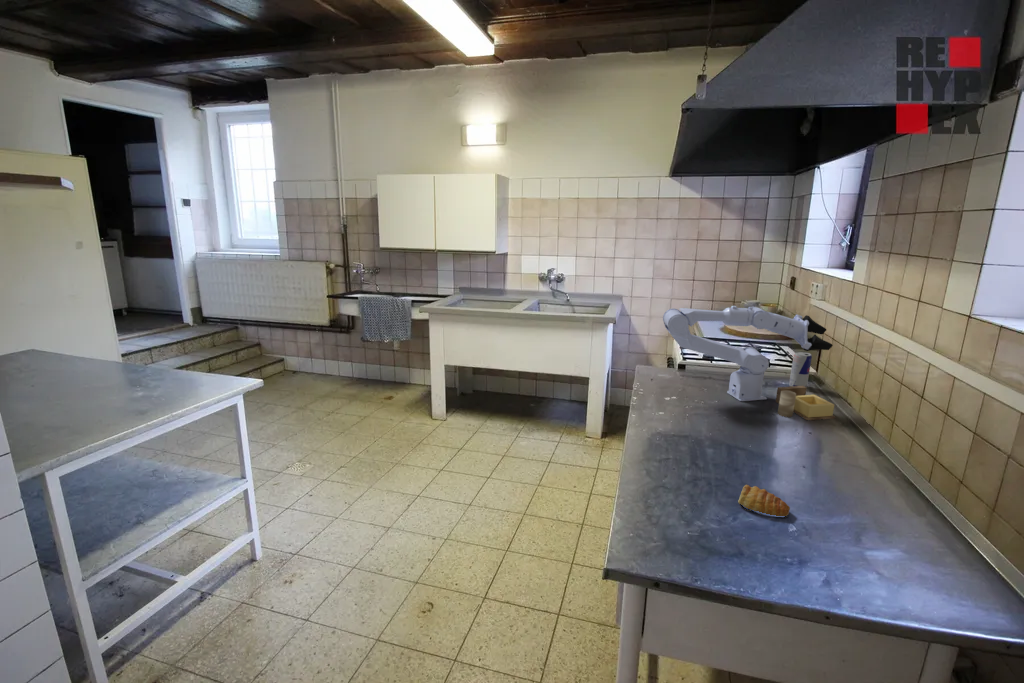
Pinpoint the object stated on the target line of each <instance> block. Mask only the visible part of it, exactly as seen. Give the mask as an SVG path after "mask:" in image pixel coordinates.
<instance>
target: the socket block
mask: <svg viewBox="0 0 1024 683" xmlns="http://www.w3.org/2000/svg"><path fill="white" fill-rule="evenodd" d="M834 409H835V403H832V402H830V401H828V400H826V399H824V398H822V397H820V396H818V395H817V394H806V395H801V396H796V399H795V405H794V410H796V411H798V412H799V413H801V414H803V415H805V416H806V417H808V418H809V417H822V416H834V415H833V414H834Z"/></svg>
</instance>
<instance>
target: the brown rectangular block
mask: <svg viewBox="0 0 1024 683" xmlns="http://www.w3.org/2000/svg"><path fill="white" fill-rule="evenodd" d="M807 389H808V386H807V387H805V386H791V387H790V386H780V387H777V390H776V397H775V403H776V404H778V405H779V401H780V395H781V391H783V390H787V391H792V392H795V393H796V396H801V395H807ZM795 413H796V415H797V416H799V417H801V418H802V417H803V418H802V419H804V420H806V421H807V420H810V421H819V420H820V421H822V420H821V419H823V420H833V419H836V416H835V415H833V416H822V417H809V418H808V417H806V416H805V415H803V414H801V413H799V412H798V411H796V410H794V411H793V414H795Z"/></svg>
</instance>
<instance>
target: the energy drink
mask: <svg viewBox="0 0 1024 683" xmlns="http://www.w3.org/2000/svg"><path fill="white" fill-rule="evenodd" d="M812 358H813V357H812V354H811V353H810V352H808V351H806V352H805V351H795V352H794V353H793V357H792V365H791V370H790V376H789V384H788V385H789V387H791V386H805V387H807V388H808V384H809V383H808V382H809V375H810V370H811V365H812V364H811V363H812Z"/></svg>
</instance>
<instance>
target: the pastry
mask: <svg viewBox="0 0 1024 683" xmlns="http://www.w3.org/2000/svg"><path fill="white" fill-rule="evenodd" d="M737 503H738V504H739V505H740V504H741V505H743V506H744V507H746V508H748V509H751V510H754V511H759V512H762V513H766V514H770V515H776V516H787V515H788V516H789V515H790V514H789V513H790V511H791V507H790V506H789V504H787V502H785V501H784V500H782V499H781V498H780V497H778V496H776V495H775V494H774V493H771V492H769V491H768V490H767V489H765V488H762V489H761V488H759V487H758V486H756V485H754V486H750V485H749V484H745V485H744V486H743V487H742V490H741V493H740V495H739V499H738V500H737ZM741 505H740V506H741ZM751 510H750V511H751ZM788 516H787V517H788Z"/></svg>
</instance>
